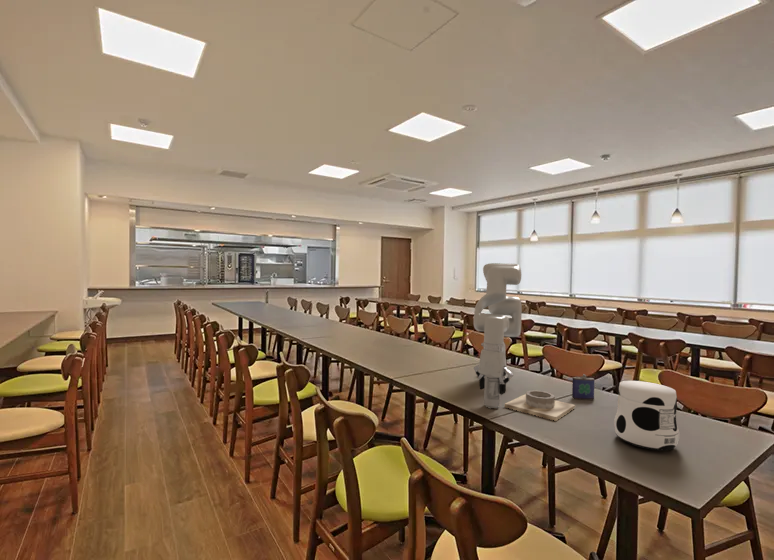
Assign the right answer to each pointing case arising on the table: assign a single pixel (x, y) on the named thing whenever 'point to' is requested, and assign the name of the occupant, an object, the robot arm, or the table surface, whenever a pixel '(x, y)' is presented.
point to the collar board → (538, 411)
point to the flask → (583, 387)
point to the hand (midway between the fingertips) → (492, 390)
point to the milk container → (647, 415)
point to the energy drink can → (492, 392)
